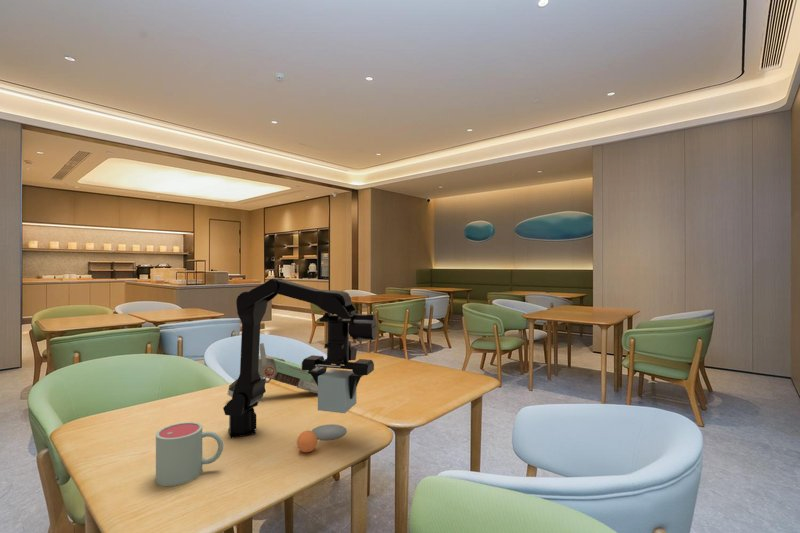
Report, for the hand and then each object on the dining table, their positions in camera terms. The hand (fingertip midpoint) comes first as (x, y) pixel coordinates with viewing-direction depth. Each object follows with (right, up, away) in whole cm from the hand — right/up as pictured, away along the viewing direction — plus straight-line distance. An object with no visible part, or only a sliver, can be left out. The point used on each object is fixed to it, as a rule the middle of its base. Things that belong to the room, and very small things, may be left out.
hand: (337, 397), depth 107 cm
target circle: (-3, -12, +6) cm, 14 cm away
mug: (-31, -12, -16) cm, 37 cm away
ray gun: (-26, -12, +35) cm, 45 cm away
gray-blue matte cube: (0, -3, 0) cm, 3 cm away
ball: (-7, -9, -6) cm, 13 cm away
